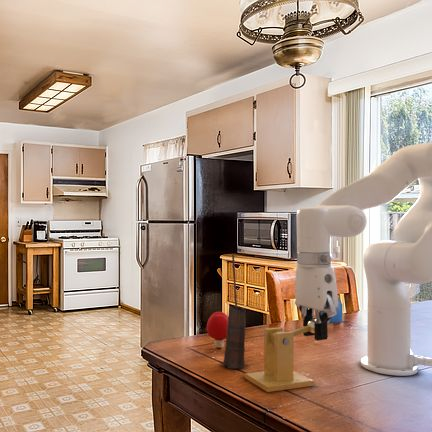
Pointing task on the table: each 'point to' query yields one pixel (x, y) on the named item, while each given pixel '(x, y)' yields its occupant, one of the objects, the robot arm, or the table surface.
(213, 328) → the red rounded lump
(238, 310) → the butter churn
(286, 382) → the bracket
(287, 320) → the table surface
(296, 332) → the switch lever
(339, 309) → the perfume bottle
